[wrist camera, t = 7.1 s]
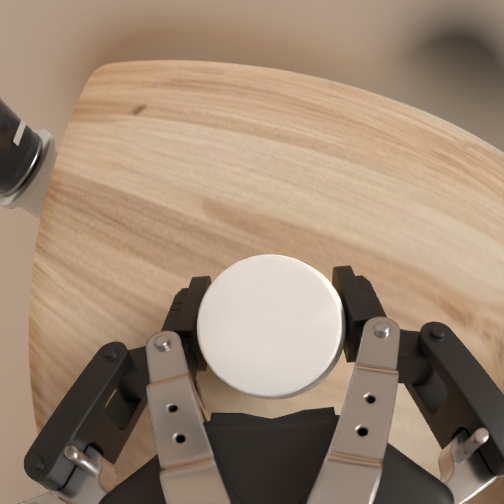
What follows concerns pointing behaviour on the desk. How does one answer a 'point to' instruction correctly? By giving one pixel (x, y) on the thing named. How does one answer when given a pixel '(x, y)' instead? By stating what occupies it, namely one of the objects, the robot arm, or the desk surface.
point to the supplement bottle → (271, 326)
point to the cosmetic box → (45, 499)
